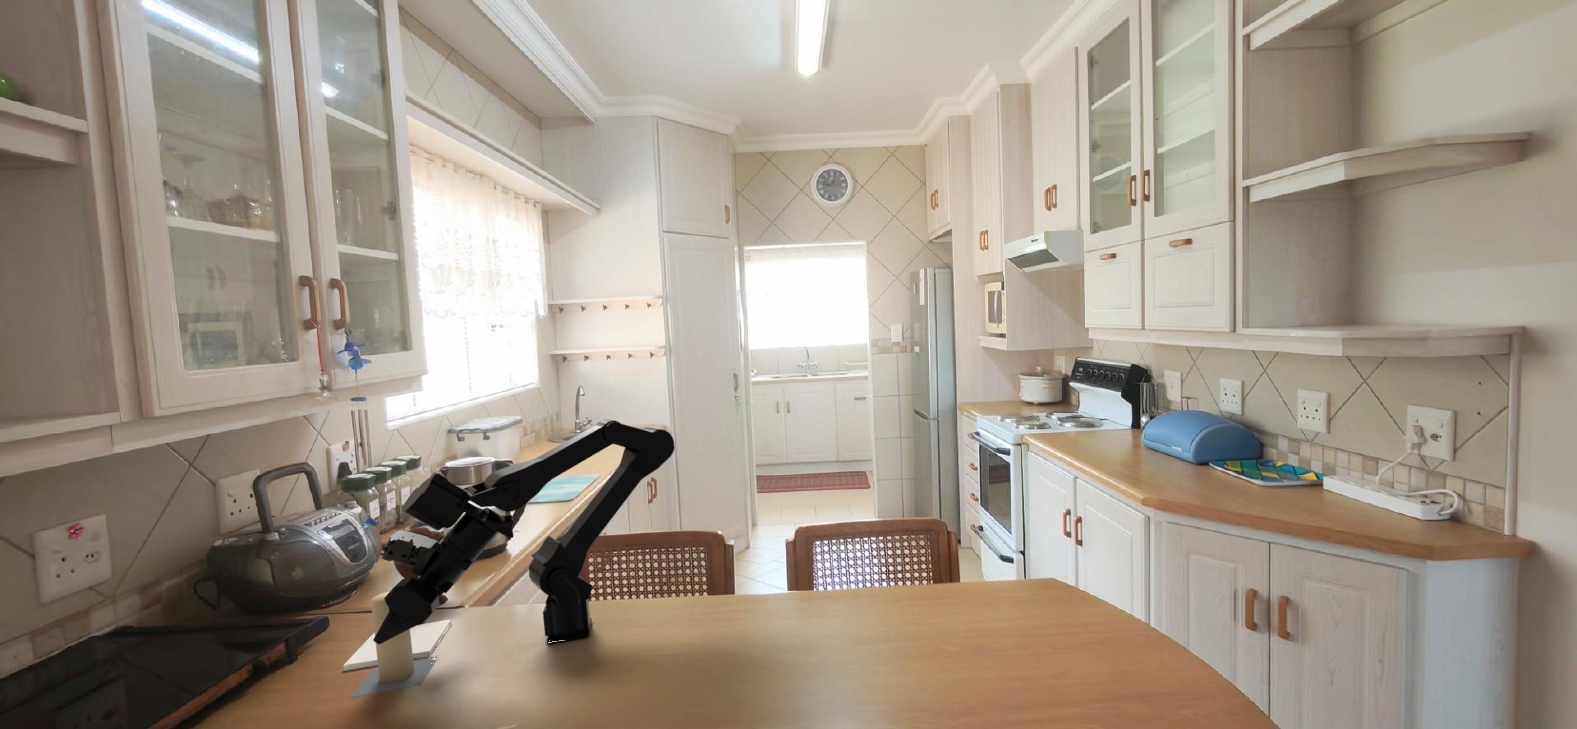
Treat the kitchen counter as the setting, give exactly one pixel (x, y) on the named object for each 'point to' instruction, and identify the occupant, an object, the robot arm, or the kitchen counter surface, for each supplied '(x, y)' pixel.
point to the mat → (375, 686)
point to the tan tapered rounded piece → (391, 647)
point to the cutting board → (421, 639)
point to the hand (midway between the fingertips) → (388, 628)
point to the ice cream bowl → (405, 569)
